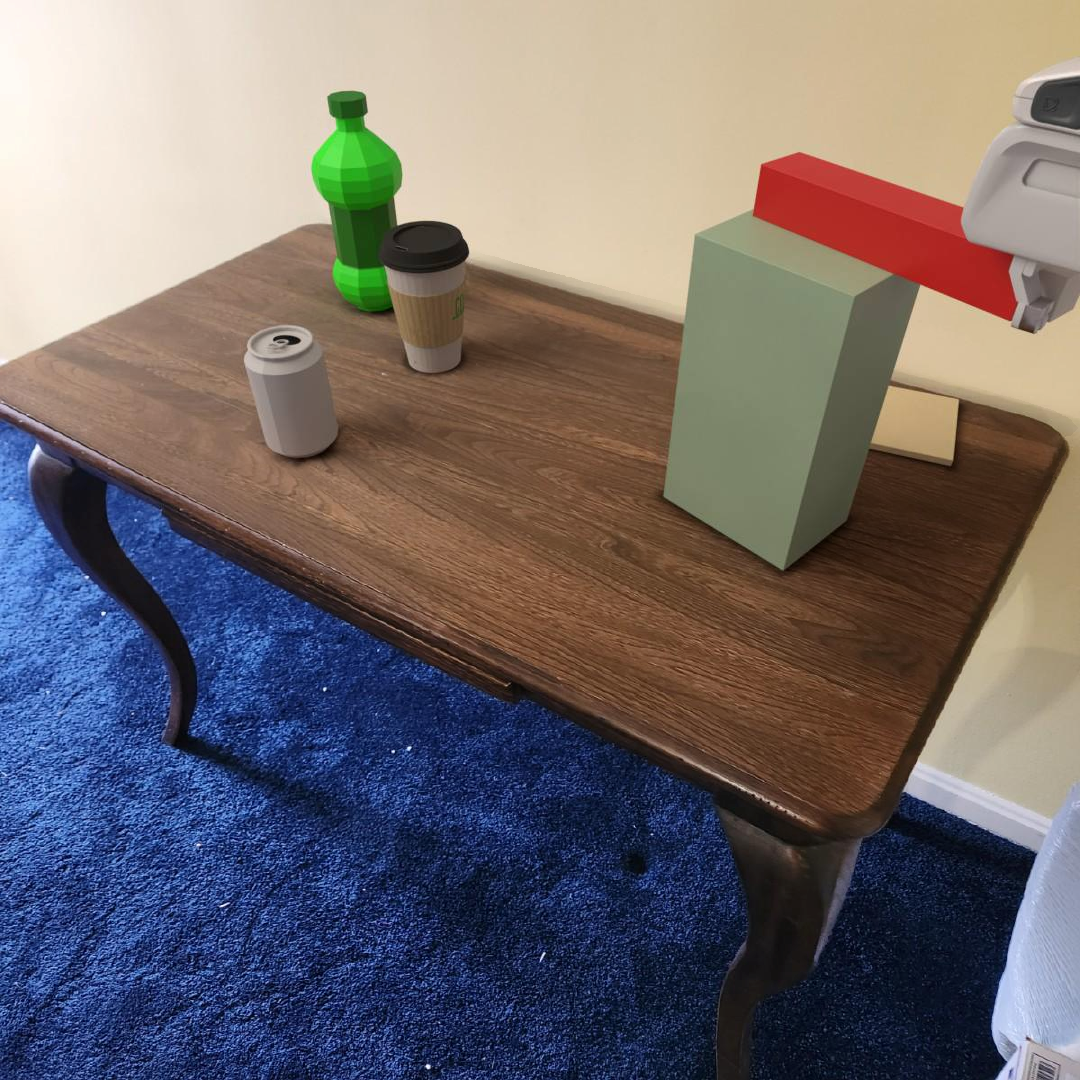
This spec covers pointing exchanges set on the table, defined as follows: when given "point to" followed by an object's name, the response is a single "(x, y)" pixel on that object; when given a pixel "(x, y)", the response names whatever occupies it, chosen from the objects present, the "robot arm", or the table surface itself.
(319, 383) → the can
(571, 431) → the table surface
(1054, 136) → the robot arm
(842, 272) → the stand
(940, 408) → the mat
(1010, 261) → the long red beam
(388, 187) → the plastic bottle
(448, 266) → the coffee cup
